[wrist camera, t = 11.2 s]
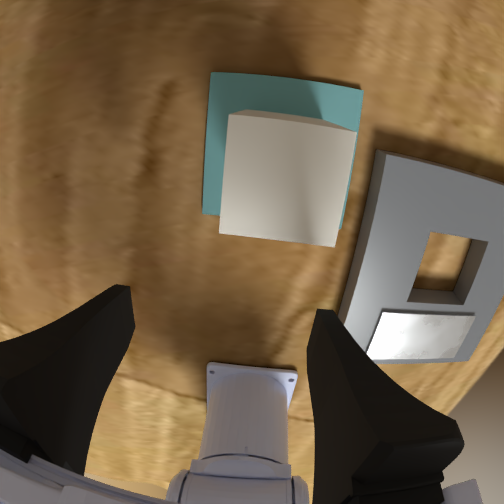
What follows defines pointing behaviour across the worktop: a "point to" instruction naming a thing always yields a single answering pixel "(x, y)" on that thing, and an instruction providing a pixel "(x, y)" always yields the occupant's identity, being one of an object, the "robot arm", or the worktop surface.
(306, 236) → the plug
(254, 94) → the mat
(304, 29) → the worktop surface
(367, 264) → the grey slotted board
